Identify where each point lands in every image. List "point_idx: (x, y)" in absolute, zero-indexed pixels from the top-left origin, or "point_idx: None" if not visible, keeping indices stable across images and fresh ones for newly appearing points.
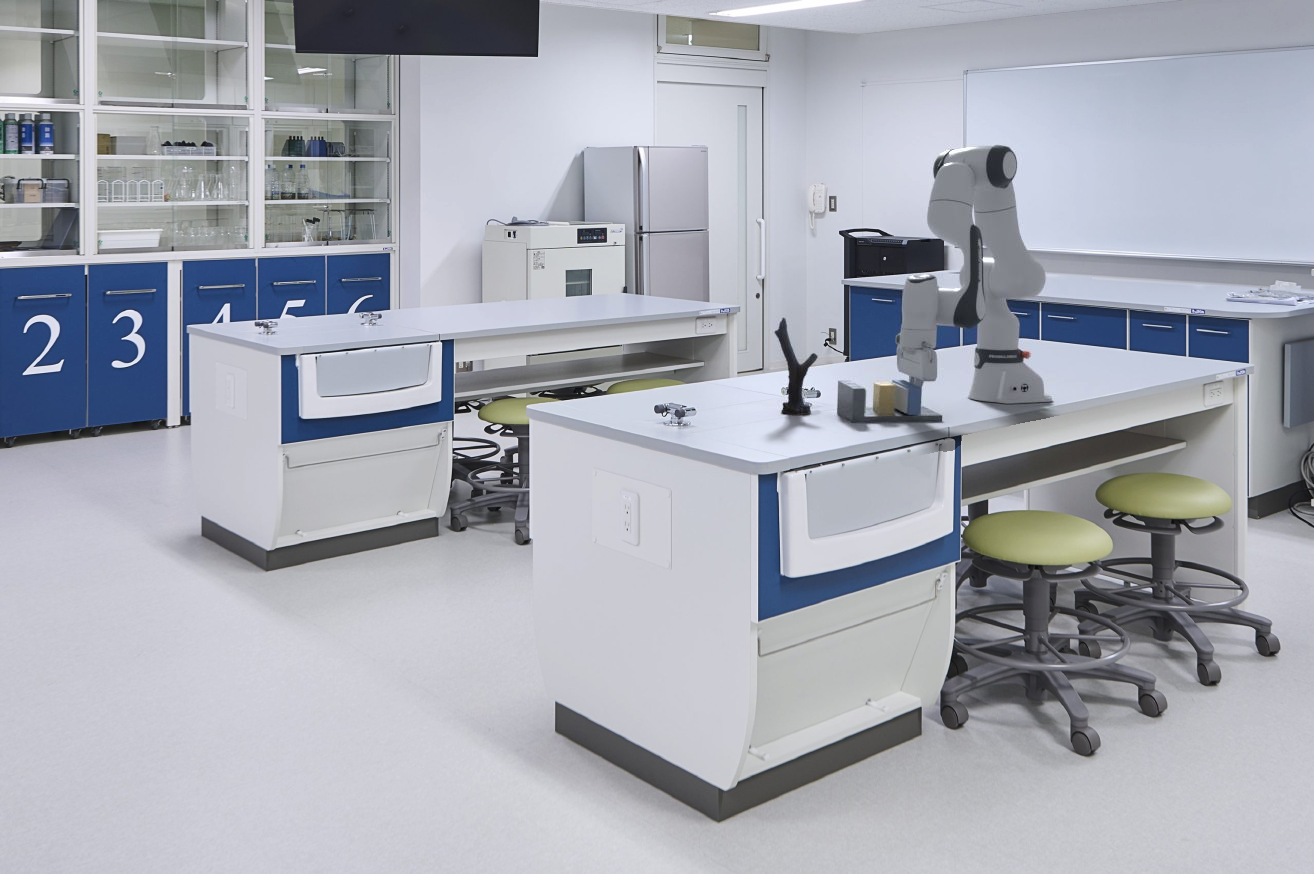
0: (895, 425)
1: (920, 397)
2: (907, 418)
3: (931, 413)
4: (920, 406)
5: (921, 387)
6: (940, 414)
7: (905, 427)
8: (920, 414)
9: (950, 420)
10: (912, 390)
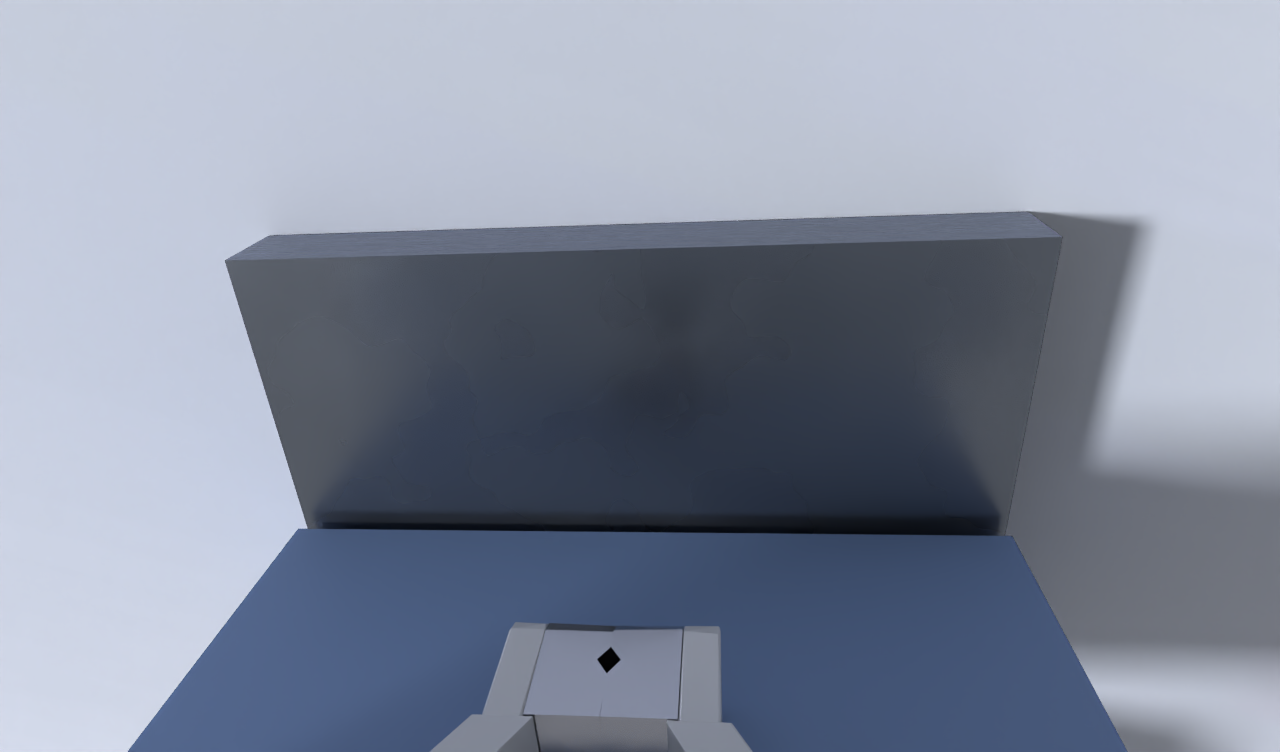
0: (1124, 742)
1: (1113, 745)
2: None
3: (855, 340)
4: (1053, 620)
5: (744, 744)
6: (969, 238)
7: (1270, 701)
8: (1011, 537)
9: (968, 50)
10: None
